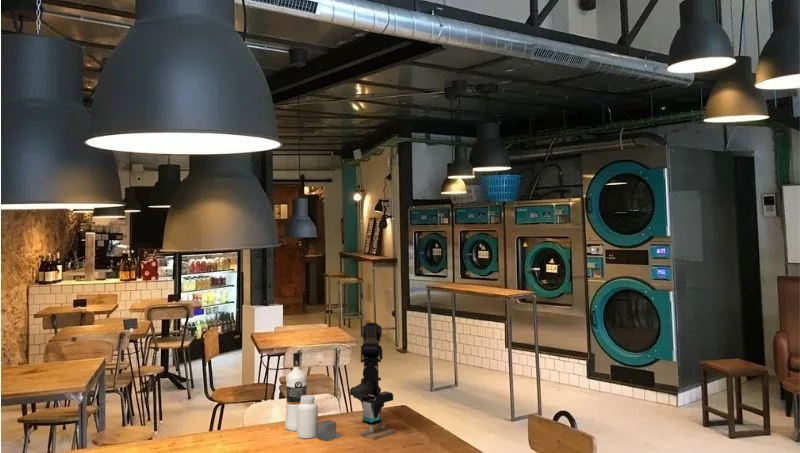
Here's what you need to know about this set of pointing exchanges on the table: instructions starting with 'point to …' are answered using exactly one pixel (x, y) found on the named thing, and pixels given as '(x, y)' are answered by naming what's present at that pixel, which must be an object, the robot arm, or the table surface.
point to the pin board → (377, 432)
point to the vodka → (294, 392)
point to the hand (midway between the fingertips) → (371, 416)
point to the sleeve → (369, 411)
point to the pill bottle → (307, 417)
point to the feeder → (327, 430)
